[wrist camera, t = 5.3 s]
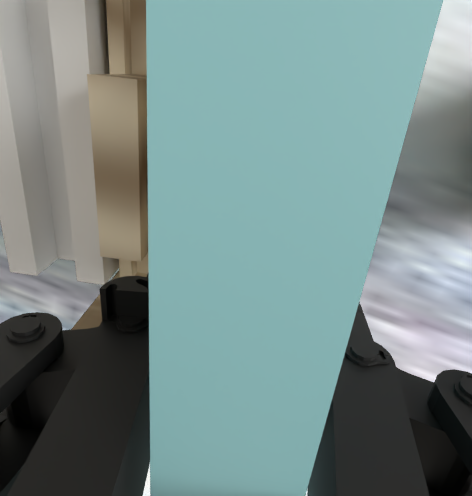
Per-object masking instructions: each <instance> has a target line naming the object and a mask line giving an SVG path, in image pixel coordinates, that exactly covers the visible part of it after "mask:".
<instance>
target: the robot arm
mask: <svg viewBox="0 0 472 496" xmlns="http://www.w3.org/2000/svg"><path fill="white" fill-rule="evenodd" d="M100 300H101V313H102V322H101V324H100V325H99V326H98V327H95V328H88V329H77V330H63V331H62V324H61V322H60V321H59V319H58V318H57V317H55V316H53V315H51V314H48V313H38V312H36V313H27V314H22V315H19V316H15V317H12V318H10V319H8V320H6V321H4V322H3V323H1V324H0V496H142V495H143V490H144V486H145V481H146V477H147V472H148V468H149V463H150V382H149V273H148V274H147V277H142V276H124V277H120V278H115V279H113V280H111V281H109V282H107V283H105V284H104V285H103V286H102V287H101V288H100ZM359 303H360V302H359ZM308 496H472V374H471V373H468V372H465V371H459V370H446V371H443V372H441V373H440V374H439V375H437V377H436V380H435V382H431V381H428V380H425V379H422V378H420V377H417V376H414V375H411V374H409V373H407V372H404V371H402V370H400V369H398V368H397V367H396V366H395V362H394V360H393V358H392V356H391V355H390V353H389V352H388V351H387V350H386V349H385V348H383V347H382V346H381V345H379V344H377V343H376V342H374V341H373V338H372V335H371V332H370V330H369V327H368V324H367V321H366V319H365V316H364V313H363V310H362V307H361V305H360V304H358V308H357V312H356V315H355V319H354V322H353V326H352V330H351V333H350V337H349V340H348V344H347V347H346V351H345V355H344V358H343V362H342V365H341V369H340V373H339V376H338V380H337V383H336V387H335V391H334V394H333V398H332V401H331V405H330V409H329V412H328V416H327V419H326V423H325V426H324V430H323V434H322V437H321V441H320V444H319V448H318V452H317V455H316V459H315V462H314V466H313V470H312V473H311V477H310V480H309V484H308Z"/></svg>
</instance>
